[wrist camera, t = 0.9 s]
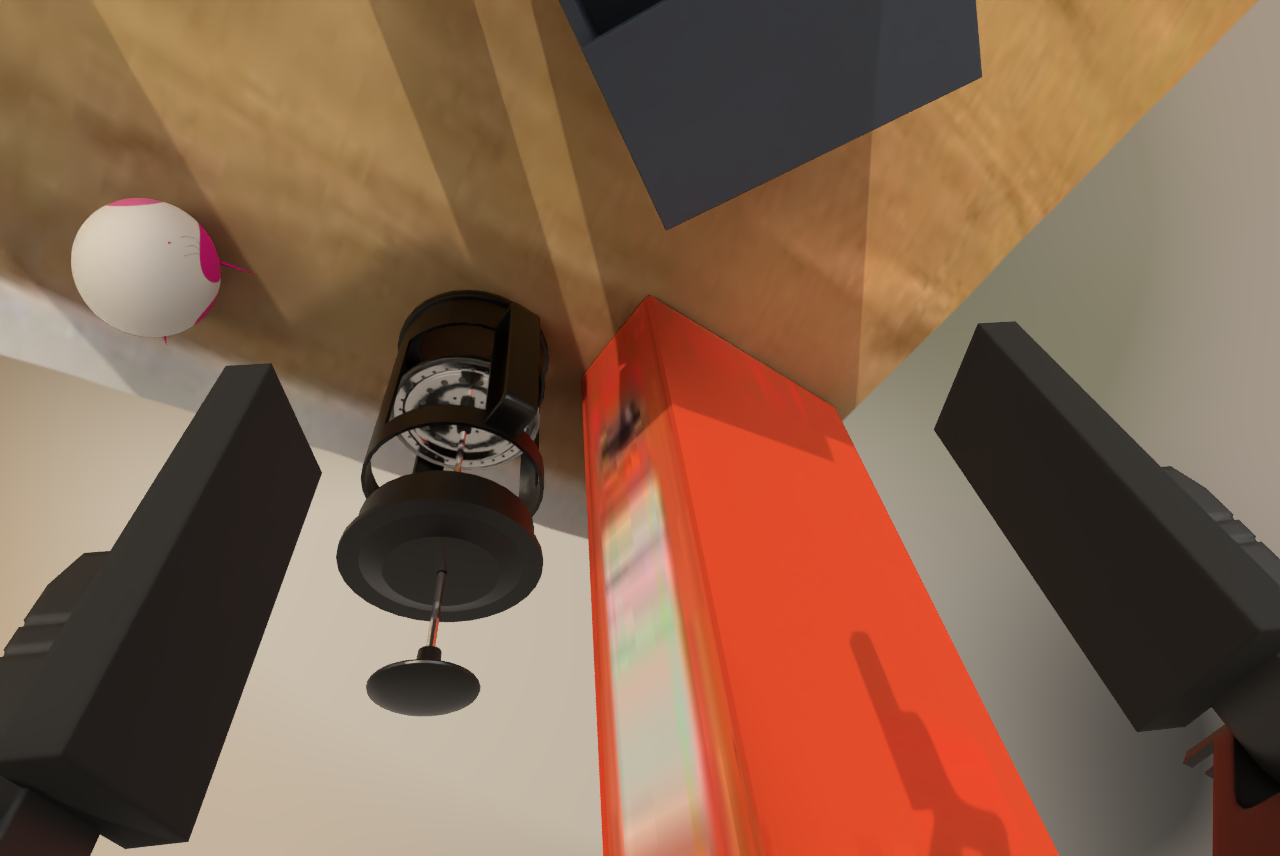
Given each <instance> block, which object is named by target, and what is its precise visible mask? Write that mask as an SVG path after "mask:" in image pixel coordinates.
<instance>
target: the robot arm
mask: <svg viewBox="0 0 1280 856" xmlns="http://www.w3.org/2000/svg"><path fill="white" fill-rule="evenodd" d="M934 430H935V432H936V434H937V435H938V436H939V438H940V439H941V441H942V442H943V444H944V445H945V447H946V448H947V450H948V451H949V453H950V454H951V456H952V457H953V459H954V460H955V462H956V463H957V465H958V466H959V468H960V469H961V471H962V472H963V474H964V475H965V476H966V478H967V480H968V481H969V483H970V484H971V485H972V487H973V489H974V490H975V492H976V493H977V495H978V496H979V498H980V499H981V501H982V502H983V504H984V505H985V506H986V508H987V509H988V511H989V512H990V514H991V515H992V517H993V518H994V520H995V521H996V523H997V524H998V526H999V527H1000V529H1001V530H1002V532H1003V533H1004V535H1005V536H1006V538H1007V539H1008V541H1009V542H1010V544H1011V545H1012V547H1013V548H1014V550H1015V551H1016V553H1017V554H1018V556H1019V557H1020V559H1021V560H1022V562H1023V563H1024V564H1025V566H1026V567H1027V569H1028V570H1029V572H1030V573H1031V575H1032V576H1033V578H1034V579H1035V581H1036V582H1037V584H1038V585H1039V587H1040V588H1041V590H1042V591H1043V593H1044V594H1045V596H1046V597H1047V599H1048V600H1049V602H1050V603H1051V605H1052V606H1053V608H1054V609H1055V610H1056V612H1057V614H1058V615H1059V617H1060V618H1061V620H1062V621H1063V623H1064V624H1065V625H1066V627H1067V628H1068V630H1069V632H1070V633H1071V634H1072V636H1073V637H1074V639H1075V640H1076V642H1077V643H1078V645H1079V646H1080V648H1081V649H1082V651H1083V652H1084V654H1085V655H1086V657H1087V658H1088V660H1089V661H1090V663H1091V664H1092V666H1093V667H1094V669H1095V670H1096V672H1097V673H1098V675H1099V676H1100V678H1101V679H1102V680H1103V682H1104V684H1105V685H1106V687H1107V688H1108V690H1109V691H1110V692H1111V694H1112V696H1113V697H1114V698H1115V700H1116V701H1117V703H1118V704H1119V706H1120V707H1121V709H1122V710H1123V712H1124V713H1125V715H1126V716H1127V718H1128V719H1129V721H1130V722H1131V724H1132V725H1133V727H1134V728H1135V730H1136V731H1137V732H1141V731H1151V730H1159V729H1168V728H1176V727H1185V726H1187V725H1188V724H1190V723H1191V722H1192V721H1193V720H1195V719H1196V718H1197V717H1199V716H1200V715H1201V714H1202V713H1204V712H1205V711H1206V710H1208V709H1209V708H1210V707H1212V708H1213V709H1214V710H1215V712H1216V713H1217V714H1218V716H1219V717H1220V718H1221V719H1222V721H1223V722H1224V723H1225V725H1223V726H1222V727H1221V728H1219V729H1218V730H1217V731H1215V732H1214V733H1212V734H1211V735H1210V736H1208V737H1207V738H1205V739H1204V740H1203V741H1201V742H1200V743H1198V744H1197V745H1196V746H1194V747H1193V748H1191V749H1190V750H1189V751H1187V753H1186V756H1185V759H1184V762H1183V763H1184V764H1186V765H1188V766H1190V767H1194V766H1195V765H1196V764H1198V763H1199V762H1201V761H1202V760H1204V759H1205V758H1207V757H1208V756H1210V755H1211V754H1213V753H1214V765H1213V766H1211V767H1210V768H1209V769H1208V770H1207V771H1206V772H1205V774H1206V775H1208V776H1210V777H1211V778H1213V856H1280V559H1279V558H1278V557H1277V556H1276V555H1275V554H1274V553H1273V552H1272V551H1271V550H1270V549H1269V548H1268V547H1266V546H1265V545H1264V544H1263V543H1262V542H1257V541H1256V540H1255V537H1256V536H1255V535H1254V534H1253V533H1252V532H1251V531H1250V530H1249V529H1248V528H1247V527H1246V526H1245V525H1243V524H1242V522H1241V521H1239V520H1234V519H1233V514H1232V513H1231V512H1230V511H1229V510H1228V509H1227V508H1226V507H1225V506H1224V505H1223V504H1222V503H1221V502H1220V501H1219V500H1218V499H1217V498H1215V496H1213V495H1212V494H1211V493H1210V492H1209V491H1208V490H1207V489H1206V488H1205V487H1203V486H1201V485H1200V484H1198V483H1197V482H1195V481H1194V480H1192V479H1190V478H1189V477H1187V476H1185V475H1184V474H1182V473H1181V472H1179V471H1177V470H1176V469H1174V468H1173V467H1171V466H1168V467H1160V466H1159V465H1158V464H1157V463H1156V462H1155V461H1154V460H1153V459H1152V458H1151V457H1150V456H1149V455H1148V454H1147V453H1146V452H1145V451H1144V450H1143V449H1142V448H1141V447H1140V446H1139V445H1138V444H1137V443H1136V442H1135V441H1134V440H1133V439H1132V438H1131V437H1130V436H1129V435H1128V434H1127V433H1126V432H1125V431H1124V430H1123V429H1122V428H1121V427H1120V426H1119V425H1118V424H1117V423H1116V422H1115V421H1114V420H1113V419H1112V418H1111V417H1110V416H1109V415H1108V414H1107V413H1106V412H1105V411H1104V410H1103V409H1102V408H1101V407H1100V406H1099V405H1098V404H1097V403H1096V402H1095V401H1094V400H1093V399H1092V398H1091V397H1090V396H1089V395H1088V394H1087V393H1086V392H1085V391H1084V390H1083V389H1082V388H1081V387H1080V386H1079V385H1078V384H1077V383H1076V382H1075V381H1074V380H1073V379H1072V378H1071V377H1070V376H1069V375H1068V374H1067V373H1066V372H1065V371H1064V370H1063V369H1062V368H1061V367H1060V366H1059V365H1058V364H1057V363H1056V362H1055V361H1054V360H1053V359H1052V358H1051V357H1050V356H1049V355H1048V354H1047V353H1046V352H1045V351H1044V350H1043V349H1042V348H1041V347H1040V346H1039V345H1038V344H1037V343H1036V342H1035V341H1034V340H1033V339H1032V338H1031V337H1030V336H1029V335H1028V334H1027V333H1026V332H1025V331H1024V330H1023V329H1022V328H1021V327H1020V326H1019V325H1018V324H1017V323H1016V322H997V323H979V324H978V325H977V327H976V330H975V332H974V335H973V337H972V339H971V342H970V344H969V346H968V349H967V351H966V354H965V356H964V358H963V361H962V363H961V366H960V368H959V370H958V373H957V375H956V378H955V380H954V382H953V385H952V387H951V390H950V392H949V394H948V397H947V399H946V402H945V404H944V406H943V409H942V411H941V414H940V416H939V419H938V421H937V423H936V426H935V428H934ZM321 474H322V472H321V470H320V468H319V465H318V463H317V461H316V459H315V457H314V455H313V452H312V450H311V448H310V446H309V444H308V442H307V439H306V437H305V435H304V433H303V431H302V429H301V426H300V424H299V422H298V420H297V418H296V416H295V413H294V411H293V409H292V407H291V405H290V403H289V400H288V398H287V396H286V394H285V392H284V390H283V387H282V385H281V383H280V381H279V379H278V377H277V374H276V372H275V370H274V368H273V366H272V364H271V363H270V364H252V365H235V366H226V367H225V368H224V370H223V371H222V373H221V375H220V376H219V378H218V379H217V381H216V383H215V384H214V386H213V387H212V389H211V391H210V392H209V394H208V395H207V397H206V399H205V400H204V402H203V403H202V405H201V407H200V408H199V410H198V411H197V413H196V415H195V416H194V418H193V420H192V421H191V423H190V424H189V426H188V428H187V429H186V431H185V432H184V434H183V435H182V437H181V439H180V440H179V442H178V443H177V445H176V447H175V448H174V450H173V451H172V453H171V455H170V456H169V458H168V460H167V461H166V463H165V464H164V466H163V467H162V469H161V471H160V472H159V474H158V475H157V477H156V479H155V480H154V482H153V483H152V485H151V487H150V488H149V490H148V492H147V493H146V495H145V497H144V498H143V500H142V501H141V503H140V504H139V506H138V507H137V509H136V511H135V512H134V514H133V516H132V517H131V519H130V520H129V522H128V524H127V525H126V527H125V528H124V530H123V532H122V533H121V535H120V537H119V538H118V540H117V541H116V543H115V544H114V546H113V548H112V549H111V551H105V552H92V553H84V554H83V555H81V556H80V557H79V558H78V559H77V560H76V561H75V562H73V563H72V564H71V565H70V566H69V567H68V568H66V569H65V570H64V571H63V572H62V573H61V574H60V575H58V576H57V577H56V578H55V579H54V580H53V581H52V582H51V583H49V584H48V585H47V587H46V588H45V590H44V591H43V593H42V594H41V596H40V597H39V599H38V600H37V601H36V603H35V605H34V606H33V608H32V609H31V610H30V612H29V613H28V615H27V616H26V618H25V619H24V622H25V624H24V626H23V627H19V628H18V629H17V631H16V632H15V634H14V635H13V637H12V638H11V640H10V641H9V643H8V644H7V646H6V647H5V649H4V651H5V654H4V656H3V657H0V856H90V855H91V852H92V850H93V848H94V846H95V844H96V842H97V839H98V837H99V835H100V834H101V835H102V836H104V837H106V838H107V839H109V840H111V841H113V842H114V843H116V844H118V845H119V846H121V847H123V848H124V849H128V848H137V847H145V846H155V845H163V844H172V843H181V842H188V841H189V838H190V835H191V833H192V830H193V827H194V825H195V822H196V819H197V816H198V813H199V811H200V808H201V805H202V802H203V799H204V797H205V794H206V791H207V788H208V786H209V783H210V780H211V778H212V775H213V772H214V769H215V767H216V764H217V761H218V758H219V755H220V753H221V750H222V747H223V744H224V742H225V739H226V736H227V733H228V731H229V728H230V725H231V722H232V720H233V717H234V714H235V711H236V709H237V706H238V703H239V700H240V698H241V695H242V692H243V689H244V686H245V684H246V681H247V678H248V675H249V673H250V670H251V667H252V664H253V661H254V659H255V656H256V653H257V650H258V648H259V645H260V642H261V640H262V637H263V634H264V631H265V628H266V626H267V623H268V620H269V617H270V615H271V612H272V609H273V606H274V604H275V601H276V598H277V595H278V592H279V590H280V587H281V584H282V582H283V579H284V576H285V573H286V570H287V567H288V565H289V562H290V559H291V556H292V554H293V551H294V548H295V545H296V543H297V540H298V537H299V535H300V532H301V529H302V526H303V524H304V521H305V518H306V515H307V512H308V510H309V507H310V504H311V501H312V499H313V496H314V493H315V490H316V488H317V485H318V482H319V479H320V477H321Z"/></svg>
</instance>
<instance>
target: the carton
mask: <svg viewBox="0 0 1280 856" xmlns="http://www.w3.org/2000/svg"><path fill="white" fill-rule="evenodd" d="M559 2H560V4H561V6H562V9H563V11H564V13H565V15H566V17H567V19H568V21H569V24H570V26H571V28H572V30H573V32H574V34H575V36H576V39H577V41H578V43H579V45H580V47H581V49H582V51H583V54H584V56H585V58H586V60H587V62H588V64H589V66H590V69H591V71H592V73H593V75H594V77H595V79H596V81H597V84H598V86H599V88H600V90H601V92H602V94H603V96H604V99H605V101H606V103H607V105H608V107H609V109H610V112H611V114H612V116H613V118H614V120H615V122H616V124H617V127H618V129H619V131H620V133H621V135H622V137H623V139H624V142H625V144H626V146H627V148H628V150H629V152H630V154H631V157H632V159H633V161H634V163H635V165H636V167H637V169H638V172H639V174H640V176H641V178H642V180H643V182H644V184H645V187H646V189H647V191H648V193H649V195H650V197H651V199H652V202H653V204H654V206H655V208H656V210H657V212H658V215H659V217H660V219H661V221H662V223H663V225H664V227H665V229H666V230H668V229H670V228H672V227H675V226H677V225H679V224H681V223H683V222H685V221H687V220H689V219H691V218H693V217H695V216H697V215H699V214H701V213H703V212H705V211H707V210H709V209H712V208H714V207H716V206H718V205H720V204H722V203H724V202H726V201H728V200H730V199H732V198H734V197H736V196H738V195H740V194H742V193H744V192H747V191H749V190H751V189H753V188H755V187H757V186H759V185H761V184H763V183H765V182H767V181H769V180H771V179H773V178H775V177H777V176H779V175H781V174H784V173H786V172H788V171H790V170H792V169H794V168H796V167H798V166H800V165H802V164H804V163H806V162H808V161H810V160H812V159H814V158H816V157H819V156H821V155H823V154H825V153H827V152H829V151H831V150H833V149H835V148H837V147H839V146H841V145H843V144H845V143H847V142H849V141H851V140H853V139H856V138H858V137H860V136H862V135H864V134H866V133H868V132H870V131H872V130H874V129H876V128H878V127H880V126H882V125H884V124H886V123H888V122H891V121H893V120H895V119H897V118H899V117H901V116H903V115H905V114H907V113H909V112H911V111H913V110H915V109H917V108H919V107H921V106H923V105H925V104H928V103H930V102H932V101H934V100H936V99H938V98H940V97H942V96H944V95H946V94H948V93H950V92H952V91H954V90H956V89H958V88H960V87H963V86H965V85H967V84H969V83H971V82H973V81H975V80H977V79H979V78H981V77H982V70H981V58H980V46H979V34H978V22H977V11H976V0H559Z"/></svg>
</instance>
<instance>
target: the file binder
mask: <svg viewBox="0 0 1280 856" xmlns="http://www.w3.org/2000/svg"><path fill="white" fill-rule="evenodd" d="M581 388H582V409H583V431H584V452H585V474H586V495H587V516H588V538H589V559H590V580H591V601H592V621H593V622H592V624H593V644H594V666H595V686H596V687H595V688H596V709H597V731H598V750H599V751H598V752H599V773H600V794H601V816H602V838H603V856H1059V854H1058V852H1057V850H1056V848H1055V846H1054V844H1053V842H1052V840H1051V838H1050V836H1049V834H1048V832H1047V830H1046V828H1045V826H1044V824H1043V822H1042V820H1041V818H1040V816H1039V814H1038V812H1037V810H1036V808H1035V806H1034V804H1033V802H1032V800H1031V798H1030V796H1029V794H1028V792H1027V790H1026V788H1025V786H1024V784H1023V782H1022V780H1021V778H1020V776H1019V774H1018V772H1017V770H1016V768H1015V767H1014V764H1013V762H1012V760H1011V758H1010V756H1009V754H1008V752H1007V750H1006V748H1005V746H1004V744H1003V742H1002V740H1001V738H1000V736H999V734H998V732H997V730H996V728H995V726H994V724H993V722H992V720H991V718H990V716H989V714H988V712H987V710H986V708H985V706H984V704H983V702H982V700H981V698H980V696H979V695H978V692H977V690H976V688H975V686H974V684H973V682H972V680H971V678H970V676H969V674H968V672H967V670H966V668H965V666H964V664H963V662H962V660H961V658H960V656H959V654H958V652H957V650H956V648H955V646H954V645H953V642H952V640H951V639H950V636H949V634H948V632H947V630H946V628H945V626H944V624H943V622H942V620H941V618H940V616H939V614H938V612H937V610H936V608H935V606H934V604H933V602H932V600H931V599H930V596H929V594H928V592H927V590H926V588H925V587H924V584H923V582H922V580H921V578H920V577H919V574H918V572H917V571H916V568H915V566H914V565H913V562H912V560H911V558H910V556H909V555H908V552H907V550H906V548H905V547H904V544H903V542H902V540H901V538H900V536H899V535H898V532H897V530H896V528H895V527H894V524H893V523H892V520H891V518H890V517H889V515H888V513H887V510H886V509H885V506H884V504H883V502H882V500H881V498H880V496H879V495H878V493H877V490H876V489H875V487H874V484H873V483H872V481H871V479H870V477H869V474H868V472H867V470H866V468H865V467H864V464H863V463H862V460H861V458H860V457H859V455H858V453H857V451H856V449H855V447H854V444H853V443H852V440H851V439H850V437H849V435H848V433H847V431H846V429H845V427H844V425H843V423H842V421H841V419H840V417H839V415H838V413H837V411H836V409H835V407H833V406H832V405H830V404H829V403H827V402H825V401H824V400H822V399H820V398H819V397H817V396H815V395H814V394H812V393H810V392H809V391H807V390H805V389H804V388H802V387H800V386H799V385H797V384H796V383H794V382H792V381H791V380H789V379H787V378H786V377H784V376H782V375H781V374H779V373H777V372H776V371H774V370H772V369H771V368H769V367H768V366H766V365H764V364H763V363H761V362H759V361H758V360H756V359H754V358H753V357H751V356H749V355H748V354H746V353H744V352H743V351H741V350H739V349H738V348H736V347H735V346H733V345H731V344H730V343H728V342H726V341H725V340H723V339H721V338H720V337H718V336H716V335H715V334H713V333H711V332H710V331H708V330H707V329H705V328H703V327H702V326H700V325H698V324H697V323H695V322H693V321H692V320H690V319H688V318H687V317H685V316H683V315H682V314H680V313H678V312H677V311H675V310H674V309H672V308H670V307H669V306H667V305H665V304H664V303H662V302H660V301H659V300H657V299H655V298H654V297H652V296H650V295H649V296H648V297H647V298H646V299H644V300H643V301H642V302H641V304H640V305H639V306H638V307H637V309H636V310H635V311H634V312H633V314H632V315H631V316H630V317H629V318H628V320H627V321H626V322H625V323H624V325H623V326H622V327H621V328H620V330H619V331H618V332H617V333H616V335H615V336H614V337H613V338H612V340H611V341H610V342H609V343H608V345H607V346H606V347H605V348H604V350H603V351H602V352H601V353H600V355H599V356H598V357H597V358H596V360H595V361H594V362H593V363H592V365H591V366H590V367H589V368H588V370H587V371H586V372H585V373H584V375H583V376H582V380H581Z"/></svg>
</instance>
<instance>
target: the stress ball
mask: <svg viewBox="0 0 1280 856" xmlns="http://www.w3.org/2000/svg"><path fill="white" fill-rule="evenodd" d="M220 264H221V265H225V266H228V267H232V268H235V269H239V270H242V271H246V270H244V269H241V268H238V267H236V266H233V265H230V264H228V263H225V262H222V261H220V260H219V256H218V253H217V251H216V248H215V246H214V244H213V242H212V240H211V238H210V237H209V235H208V234H207V232H206V231H205V230H204V228H203V227H202V226H201V225H200V224H199V223H198V222H197V221H196V220H195V219H194V218H193V217H191V216H190V215H189V214H187V213H186V212H184V211H183V210H181V209H179V208H177V207H175V206H173V205H171V204H168V203H166V202H163V201H159V200H155V199H149V198H128V199H122V200H118V201H115V202H112V203H109V204H107V205H105V206H103V207H101V208H100V209H98V210H97V211H95V212H94V213H93V214H92V215H91V216H90V217H89V218H88V219H87V220H86V221H85V222H84V223H83V225H82V226H81V228H80V229H79V231H78V233H77V235H76V237H75V240H74V243H73V247H72V253H71V268H72V274H73V278H74V281H75V285H76V287H77V289H78V291H79V293H80V295H81V297H82V298H83V300H84V301H85V303H86V304H87V305H88V306H89V308H90V309H91V310H92V311H93V312H94V313H95V314H96V315H97V316H98V317H99V318H101V319H102V320H103V321H105V322H106V323H108V324H109V325H111V326H113V327H115V328H117V329H119V330H121V331H124V332H126V333H129V334H133V335H137V336H143V337H164V340H165V343H166V336H170V335H174V334H177V333H180V332H183V331H185V330H187V329H189V328H191V327H192V326H194V325H195V324H197V323H198V322H199V321H200V320H201V319H202V318H204V316H205V315H206V314H207V313H208V312H209V310H210V309H211V307H212V306H213V304H214V302H215V300H216V298H217V295H218V292H219V288H220V282H221V267H220ZM246 272H249V271H246ZM249 273H252V272H249ZM253 274H254V273H253ZM256 275H257V274H256ZM166 346H167V344H166Z"/></svg>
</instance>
